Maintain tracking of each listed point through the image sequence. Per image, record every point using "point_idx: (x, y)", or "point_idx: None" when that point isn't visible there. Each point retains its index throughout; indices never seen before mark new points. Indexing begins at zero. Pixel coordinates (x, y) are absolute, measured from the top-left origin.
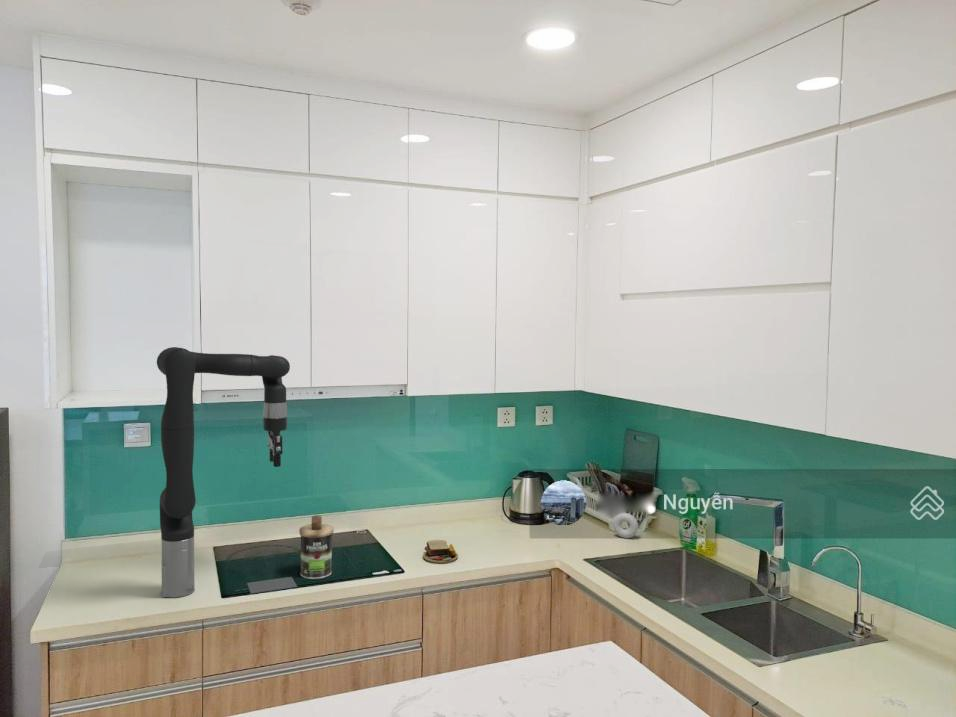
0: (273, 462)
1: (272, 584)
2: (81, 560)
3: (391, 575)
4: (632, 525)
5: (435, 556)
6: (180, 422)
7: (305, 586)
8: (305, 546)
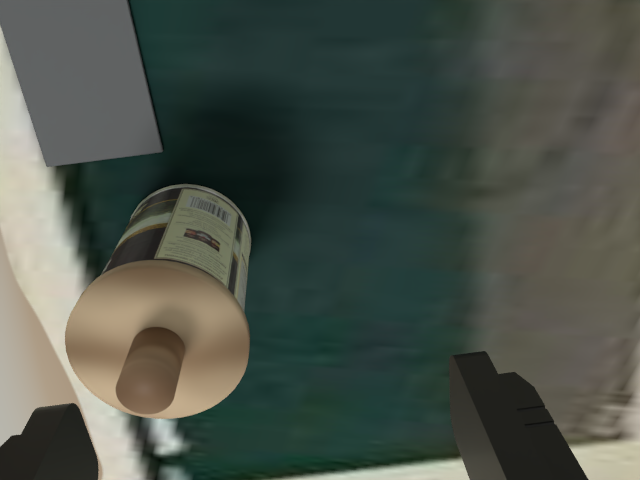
0: (45, 442)
1: (81, 69)
2: None
3: (130, 456)
4: None
5: None
6: None
7: (61, 196)
8: (112, 260)
